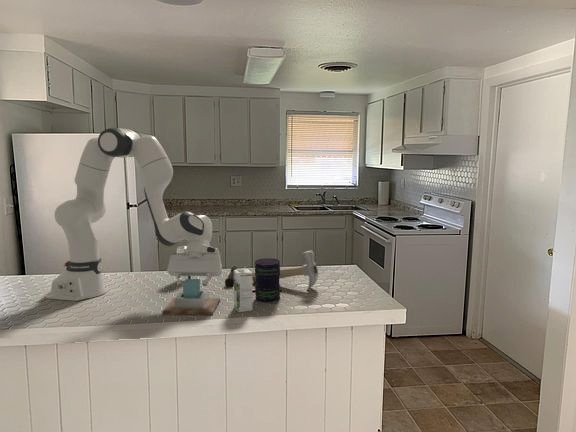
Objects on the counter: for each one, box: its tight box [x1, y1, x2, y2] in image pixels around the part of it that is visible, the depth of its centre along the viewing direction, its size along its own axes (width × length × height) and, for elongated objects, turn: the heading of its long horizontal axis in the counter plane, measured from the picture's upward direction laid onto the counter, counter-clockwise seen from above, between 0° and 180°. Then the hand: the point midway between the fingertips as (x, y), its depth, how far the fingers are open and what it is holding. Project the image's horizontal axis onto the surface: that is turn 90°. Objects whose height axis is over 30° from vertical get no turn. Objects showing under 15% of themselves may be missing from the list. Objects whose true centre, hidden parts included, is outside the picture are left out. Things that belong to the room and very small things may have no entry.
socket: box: [174, 289, 210, 310], centre depth 162 cm, size 10×10×4 cm
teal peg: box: [182, 278, 201, 297], centre depth 162 cm, size 5×5×9 cm
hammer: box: [251, 250, 319, 291], centre depth 188 cm, size 16×5×30 cm
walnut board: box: [161, 297, 221, 315], centre depth 163 cm, size 18×14×1 cm
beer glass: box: [176, 245, 193, 283], centre depth 197 cm, size 7×7×15 cm
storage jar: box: [254, 258, 281, 304], centre depth 171 cm, size 10×10×15 cm
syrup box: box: [233, 268, 253, 313], centre depth 160 cm, size 6×6×14 cm
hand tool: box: [224, 266, 237, 288], centre depth 197 cm, size 19×4×5 cm, turn 177°
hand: (191, 285), depth 162 cm, fingers open, 8 cm apart
